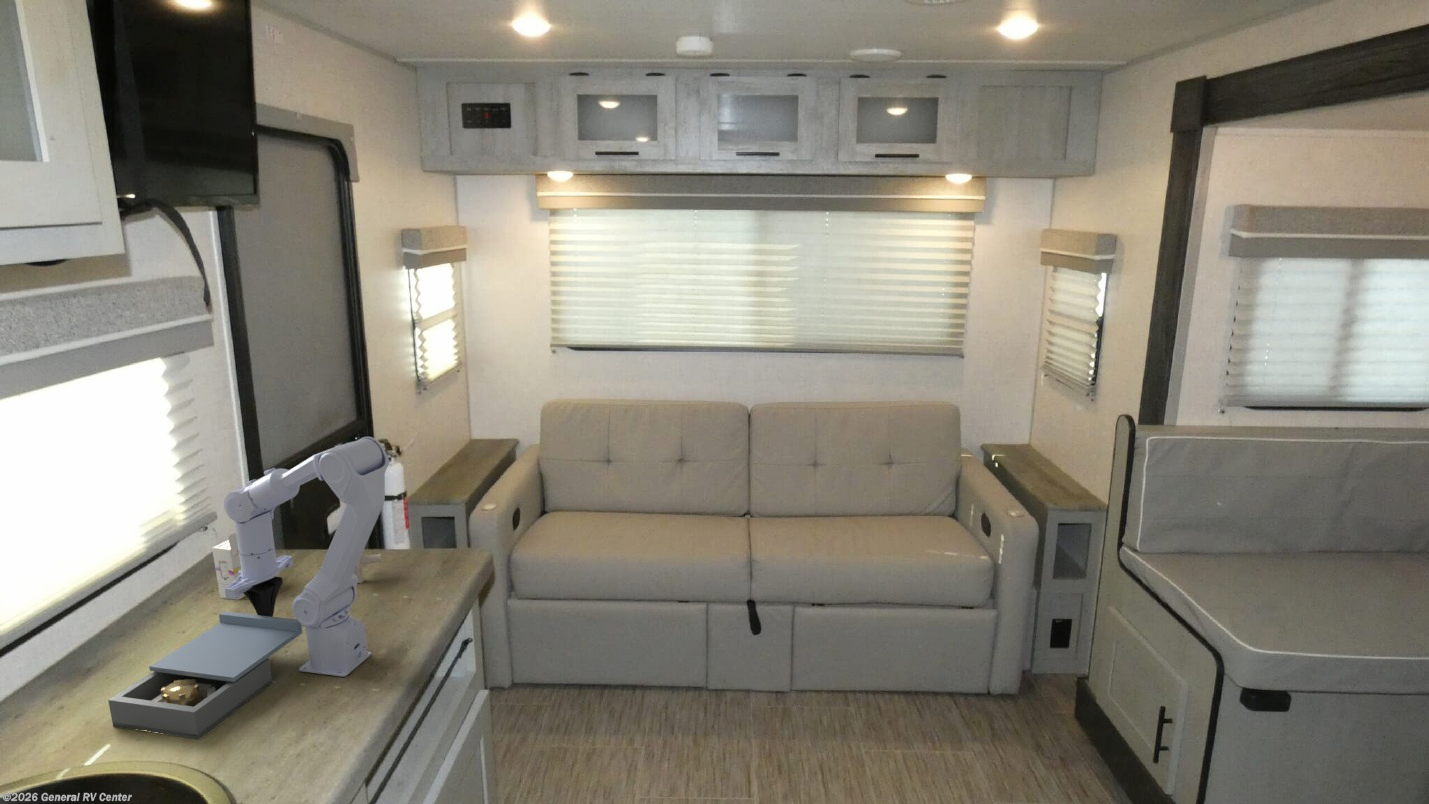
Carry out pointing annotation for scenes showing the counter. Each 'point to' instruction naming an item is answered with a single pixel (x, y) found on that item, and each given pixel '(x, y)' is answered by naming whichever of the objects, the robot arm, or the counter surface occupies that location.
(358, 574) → the pipe connector
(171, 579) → the counter surface
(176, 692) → the ribbed brass cylinder
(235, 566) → the ink cartridge box
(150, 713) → the housing
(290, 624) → the lid
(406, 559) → the counter surface
